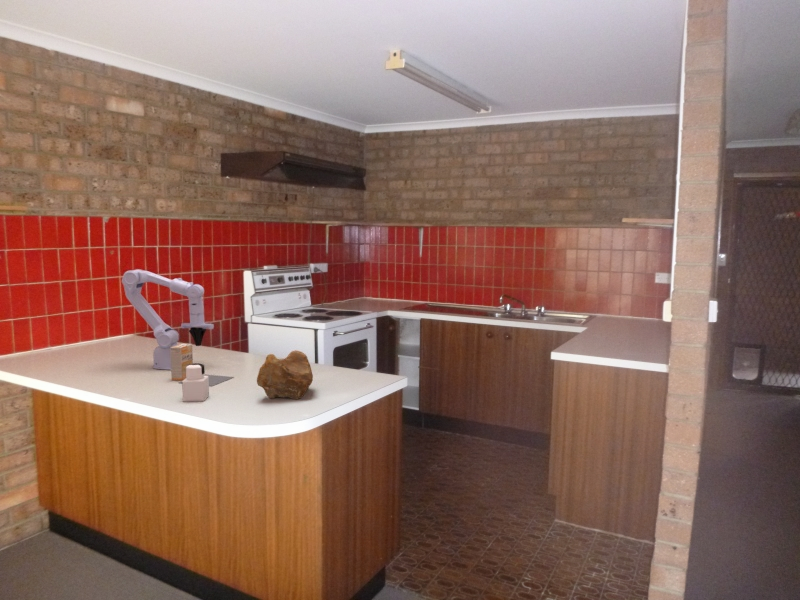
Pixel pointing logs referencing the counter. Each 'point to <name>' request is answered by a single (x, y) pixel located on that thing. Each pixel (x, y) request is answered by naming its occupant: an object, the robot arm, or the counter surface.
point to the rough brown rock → (285, 375)
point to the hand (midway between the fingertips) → (198, 345)
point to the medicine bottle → (195, 383)
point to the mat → (216, 379)
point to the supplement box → (180, 360)
